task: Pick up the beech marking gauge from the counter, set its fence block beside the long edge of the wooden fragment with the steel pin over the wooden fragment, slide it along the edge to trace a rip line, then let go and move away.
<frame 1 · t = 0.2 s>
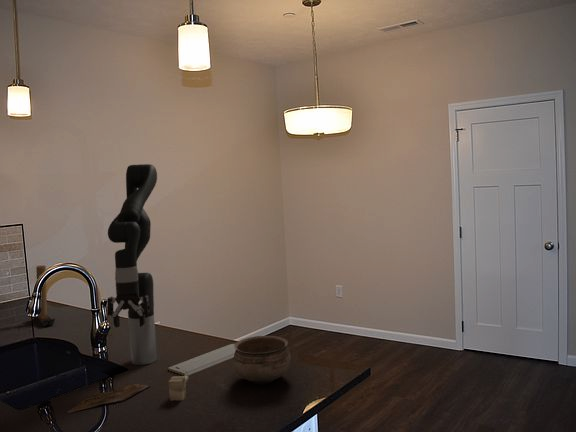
hand: (129, 326, 180), 17 cm above the countertop, tool pointing down, fingers open, 8 cm apart
baseboard molding: (212, 362, 192), on the countertop
cooking pot: (263, 381, 171), on the countertop
hammer: (43, 324, 255), on the countertop
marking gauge: (178, 397, 161), on the countertop
wooden fragment: (109, 400, 163), on the countertop
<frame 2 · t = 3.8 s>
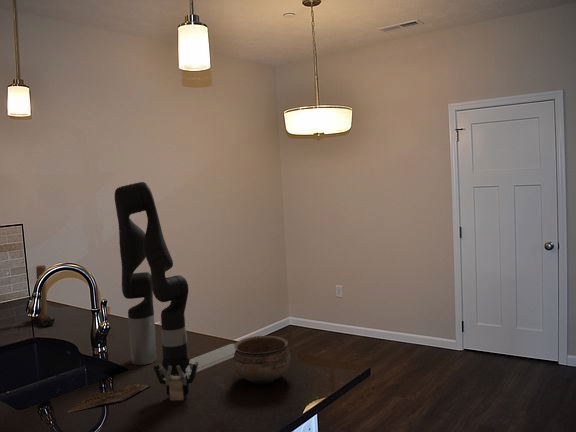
hand: (178, 395, 161), 1 cm above the countertop, tool pointing down, fingers closed on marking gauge, 4 cm apart
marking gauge: (178, 397, 161), on the countertop, touching gripper
everything else where it was.
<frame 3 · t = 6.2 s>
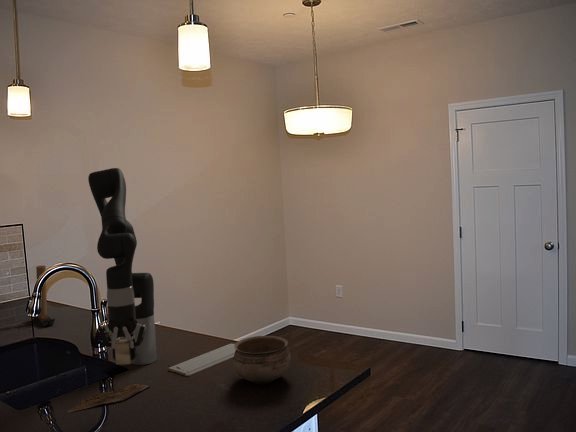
hand: (125, 359, 152), 15 cm above the countertop, tool pointing down, fingers closed on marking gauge, 4 cm apart
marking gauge: (125, 361, 152), point 15 cm above the countertop, touching gripper
everything else where it was.
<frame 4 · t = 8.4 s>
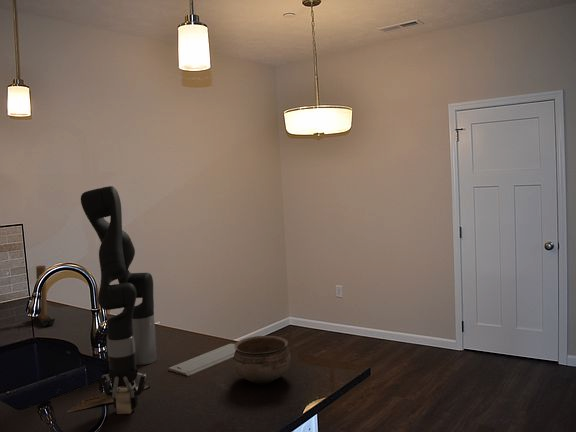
hand: (126, 408, 153), 1 cm above the countertop, tool pointing down, fingers closed on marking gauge, 4 cm apart
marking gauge: (126, 410, 153), on the countertop, touching gripper
everything else where it was.
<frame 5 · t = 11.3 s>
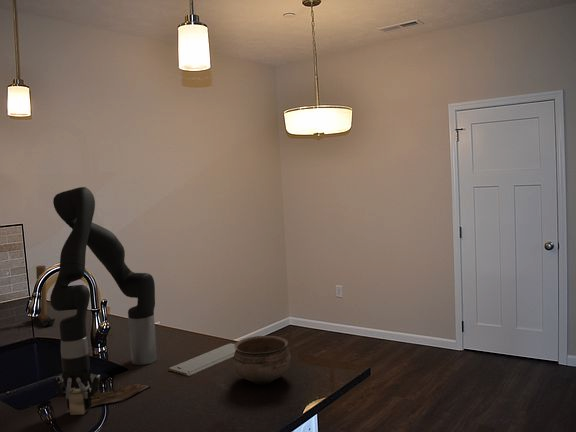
hand: (79, 409, 154), 1 cm above the countertop, tool pointing down, fingers closed on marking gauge, 4 cm apart
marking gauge: (79, 411, 154), on the countertop, touching gripper
everything else where it was.
when the fingers open (1 cm above the countertop, at t = 13.5 s): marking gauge stays where it is, on the countertop.
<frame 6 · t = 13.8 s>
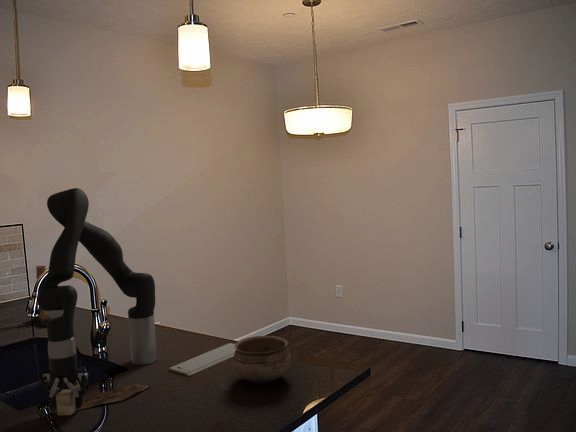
hand: (67, 408, 154), 1 cm above the countertop, tool pointing down, fingers open, 6 cm apart
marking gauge: (67, 412, 154), on the countertop
everything else where it was.
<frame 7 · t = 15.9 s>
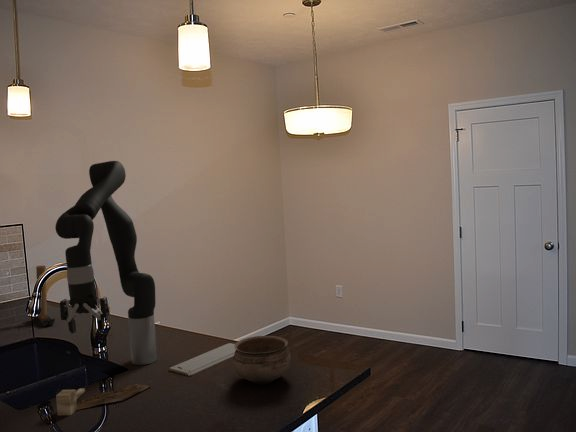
hand: (87, 331, 160), 22 cm above the countertop, tool pointing down, fingers open, 8 cm apart
nothing on the countertop moved.
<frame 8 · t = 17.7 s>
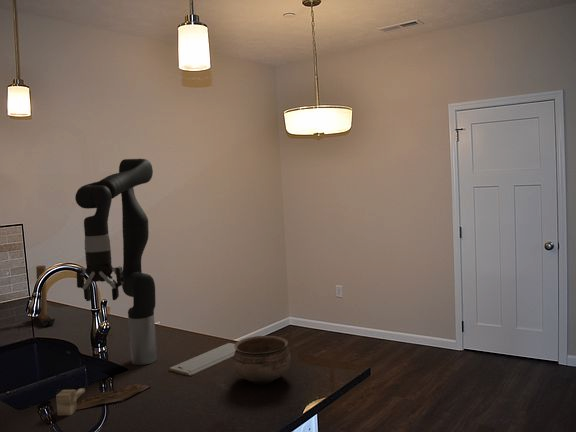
hand: (101, 300, 165), 30 cm above the countertop, tool pointing down, fingers open, 8 cm apart
nothing on the countertop moved.
at the end: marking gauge inside the target area (0.1 cm from its centre), on the countertop; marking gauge tilted 0°; wooden fragment moved 0.6 cm from its start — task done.
